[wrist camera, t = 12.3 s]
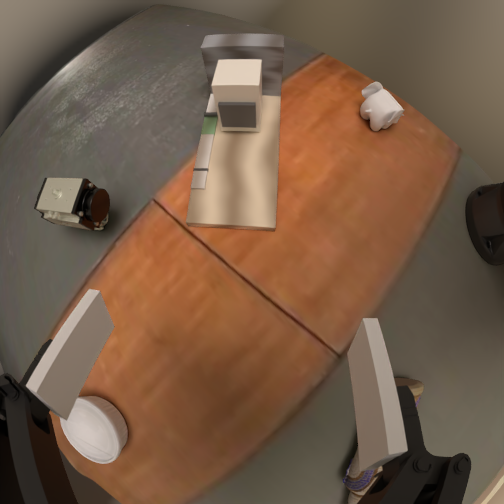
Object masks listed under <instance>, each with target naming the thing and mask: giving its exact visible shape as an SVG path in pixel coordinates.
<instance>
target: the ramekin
mask: <svg viewBox="0 0 504 504" xmlns="http://www.w3.org/2000/svg"><path fill="white" fill-rule="evenodd" d="M60 421H61V426H62V429H63V431H64V433H65V435H66V437H67V439H68V440H69V442H70V443H71V444H72V446H73V447H74V448H75V449H76V450H77V451H78V452H79V453H81V454H82V455H83V456H85V457H86V458H88V459H90V460H92V461H94V462H97V463H103V464H106V463H111V462H113V461H114V460H115V459H117V458H118V456H119V455H120V453H121V450H122V448H123V447H124V445H125V444H126V442H127V438H128V430H127V426H126V423H125V420H124V418H123V417H122V415H121V414H120V412H119V411H118V410H117V409H116V408H115V407H114V406H113V405H112V404H111V403H109V402H108V401H106V400H105V399H103V398H100V397H97V396H86V397H78V398H77V400H76V402H75V404H74V406H73V408H72V411H71V413H70V415H69V417H68V420H67V421H66V420H64V419H62V418H60Z"/></svg>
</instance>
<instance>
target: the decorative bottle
mask: <svg viewBox="0 0 504 504" xmlns="http://www.w3.org/2000/svg"><path fill="white" fill-rule="evenodd" d="M394 381H395V385H396V386H405V385H407V386H408V387H409V389H410V390H411V392H412V393H413V395H414V399H415V403H416V407H417V408H418V403H419V400H420V396H421V394H422V392H423V390H424V384H423V383H422V382H420V381H417V380H413V379H409V378H398V377H396V378H394ZM380 471H382V466H381V467H379V468H377V469H372V470H366V471H360V466H359V450H358V448H357V451H356V454H355V456H354V458H352V459H351V460H350V464H349V468H348V469H347V472H346V475H345V478H344V479H343V483H345V485H346V487H347V488H348V489H349V490H351V491H350V493H349V497H348V504H357V503H358V502H359V500H360V499H361V498H362V497H363V495H364V494H365V493H366V492H367V490H368V489H369V488H370V487H371V485H372V484H373V483H374V481H375V480H376V479H377V477H376V478H374V477H373V476H374V475H375V474H377V473H378V472H380ZM344 480H345V481H344Z"/></svg>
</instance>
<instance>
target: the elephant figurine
mask: <svg viewBox="0 0 504 504" xmlns="http://www.w3.org/2000/svg"><path fill="white" fill-rule="evenodd" d="M362 96H363V97H364V98H365V99H366V100H365V101H364V102H363V104H362V105H361V107H360V114H361V116H362V118H363V119H366V120H368V119H369V118H370V128H371V129H372V130H373V131H379V130H380V129H381V128H383V129H386V128H388V127H389V126H390V125H391V124H392V123H397V122H398V120H399V118H400V116H401V115H402V116H404V115H403V114H402V113H403V111H404V110H403V108H402V107H401V106H400V105H399V104H398V102H397V101H396V100H395V99H394V98H393V97H392V96H391V95H390V93H389V92H388V91H386V90H384V89H383V87H382V85H381V84H380V83H379V82H374V83H372V84H370V85H369V86H367V87H366V88H364V89H363V90H362Z"/></svg>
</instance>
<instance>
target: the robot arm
mask: <svg viewBox="0 0 504 504" xmlns="http://www.w3.org/2000/svg"><path fill="white" fill-rule="evenodd" d="M466 220H467V225H468V230H469V233H470V236H471V239H472V241H473V243H474V246H475V247H476V249H477V251H478V252H479V254H480V255H481V256H482V258H483V259H484V260H485V261H487V262H488V263H490V264H492V265H500V264H503V263H504V182H503V183H497V184H491V185H484V186H481V187H479V188H477V189H476V190H474V191H473V192H472V193H471V194H470V195H469V197H468V200H467V204H466ZM114 327H115V326H114V324H113V322H112V320H111V317H110V315H109V312H108V310H107V308H106V305H105V303H104V300H103V298H102V295H101V293H100V291H97V290H92V289H89V290H88V291H87V293H86V294H85V295H84V297H83V298H82V299H81V301H80V302H79V303H78V305H77V306H76V308H75V309H74V310H73V312H72V313H71V315H70V316H69V317H68V319H67V320H66V322H65V323H64V325H63V326H62V327H61V329H60V330H59V332H58V333H57V335H56V336H55V338H54V340H51V339H50V340H48V341H47V342H46V343H45V344H44V345H43V346H42V347H41V349H40V350H39V352H38V355H36V357H35V358H34V361H33V362H32V363H31V365H30V367H29V368H28V370H27V372H26V373H25V375H24V377H23V379H22V380H21V382H20V383H18V382H17V381H16V380H15V379H14V378H13V377H12V376H11V375H10V374H8V373H7V374H3V375H1V376H0V414H2V415H3V416H4V418H3V420H1V419H0V504H78V502H77V500H76V498H75V495H74V493H73V490H72V488H71V485H70V482H69V480H68V477H67V474H66V471H65V468H64V465H63V462H62V459H61V455H60V452H59V448H58V445H57V441H56V437H55V433H54V428H53V424H52V419H51V416H50V414H49V411H50V410H51V411H52V412H53V413H54V414H55V415H57V416H59V417H60V418H62V419H64V420H66V421H67V420H68V417H69V415H70V413H71V411H72V408H73V406H74V404H75V402H76V400H77V398H78V396H79V393H80V391H81V389H82V387H83V385H84V383H85V381H86V379H87V377H88V375H89V373H90V371H91V369H92V367H93V365H94V363H95V362H96V360H97V358H98V356H99V354H100V352H101V350H102V348H103V347H104V345H105V343H106V341H107V339H108V337H109V336H110V334H111V332H112V330H113V329H114ZM347 355H348V362H349V368H350V375H351V383H352V390H353V398H354V407H355V416H356V426H357V437H358V450H359V466H360V471H366V470H372V469H377V468H379V467H381V466H382V471H380V472H378V473H377V474H375V475H374V476H373V477H374V478H376V477H377V479H376V480H375V481H374V483H373V484H372V485H371V487H370V488H369V489H368V490H367V492H366V493H365V494H364V495H363V497H362V498H361V499H360V500H359V502H358V503H357V504H462V500H463V497H464V494H465V490H466V487H467V483H468V479H469V474H470V470H471V460H470V458H469V456H468V455H467V454H464V453H459V454H457V455H455V456H453V457H439V456H433V455H432V454H430V453H429V452H428V451H427V450H426V448H425V446H424V442H423V436H422V431H421V426H420V421H419V416H418V412H417V407H416V403H415V399H414V395H413V393H412V392H411V390H410V389H409V387H408V386H407V385H405V386H396V385H395V381H394V377H393V373H392V368H391V365H390V361H389V357H388V353H387V349H386V346H385V342H384V339H383V335H382V332H381V329H380V325H379V322H378V319H377V318H363V319H362V321H361V324H360V326H359V328H358V331H357V333H356V335H355V338H354V340H353V342H352V344H351V346H350V348H349V351H348V353H347Z"/></svg>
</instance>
